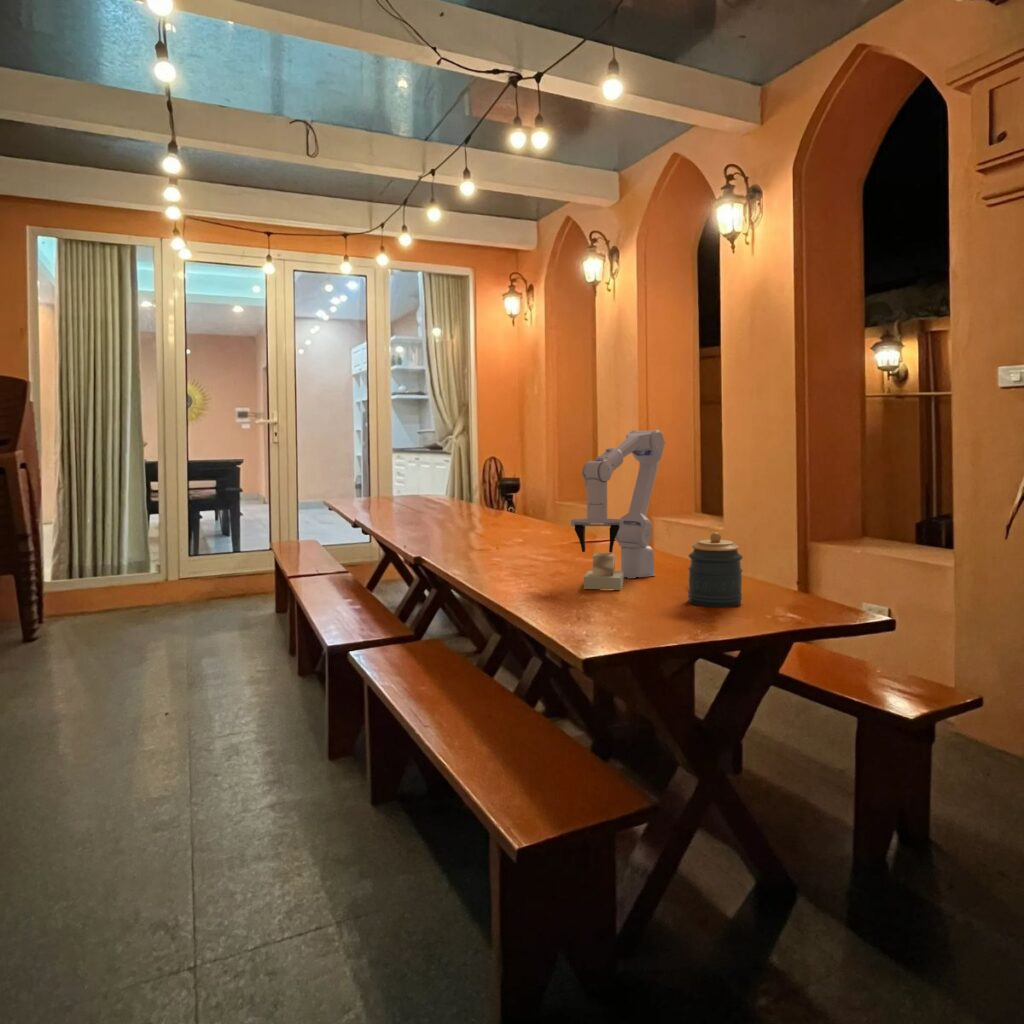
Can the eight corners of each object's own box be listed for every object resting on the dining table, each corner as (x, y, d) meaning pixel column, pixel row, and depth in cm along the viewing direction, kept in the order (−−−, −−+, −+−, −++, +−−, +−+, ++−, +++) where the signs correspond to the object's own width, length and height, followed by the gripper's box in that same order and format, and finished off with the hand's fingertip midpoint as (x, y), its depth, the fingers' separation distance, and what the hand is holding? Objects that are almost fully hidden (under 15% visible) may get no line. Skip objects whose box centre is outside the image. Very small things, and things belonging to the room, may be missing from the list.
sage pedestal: (623, 583, 207) (623, 571, 207) (620, 590, 198) (620, 578, 197) (588, 582, 210) (588, 570, 209) (583, 589, 200) (583, 576, 200)
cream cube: (614, 572, 205) (614, 553, 205) (612, 576, 200) (612, 556, 199) (595, 572, 207) (595, 552, 206) (592, 575, 201) (592, 555, 201)
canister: (677, 599, 186) (678, 531, 184) (720, 595, 190) (721, 528, 188) (708, 610, 173) (709, 537, 172) (753, 605, 178) (754, 533, 176)
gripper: (569, 504, 202) (569, 553, 203) (622, 505, 199) (622, 554, 200) (572, 502, 209) (573, 549, 210) (623, 502, 206) (623, 550, 207)
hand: (597, 551), depth 206 cm, fingers open, 7 cm apart
